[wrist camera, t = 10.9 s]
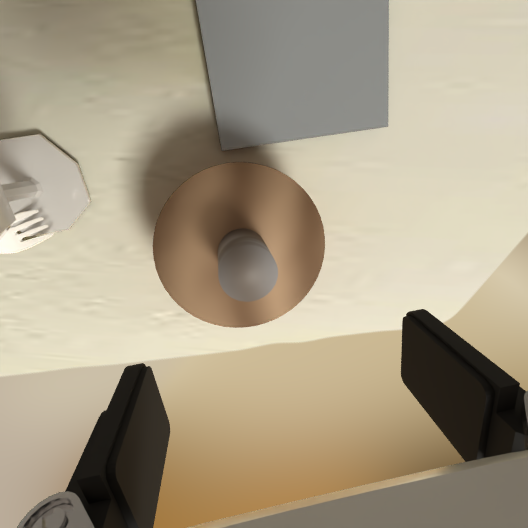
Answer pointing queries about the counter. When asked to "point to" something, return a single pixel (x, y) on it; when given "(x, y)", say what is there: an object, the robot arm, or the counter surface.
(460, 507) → the robot arm
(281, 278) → the lid
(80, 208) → the wineglass
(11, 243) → the fork
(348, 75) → the mat
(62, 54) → the counter surface
